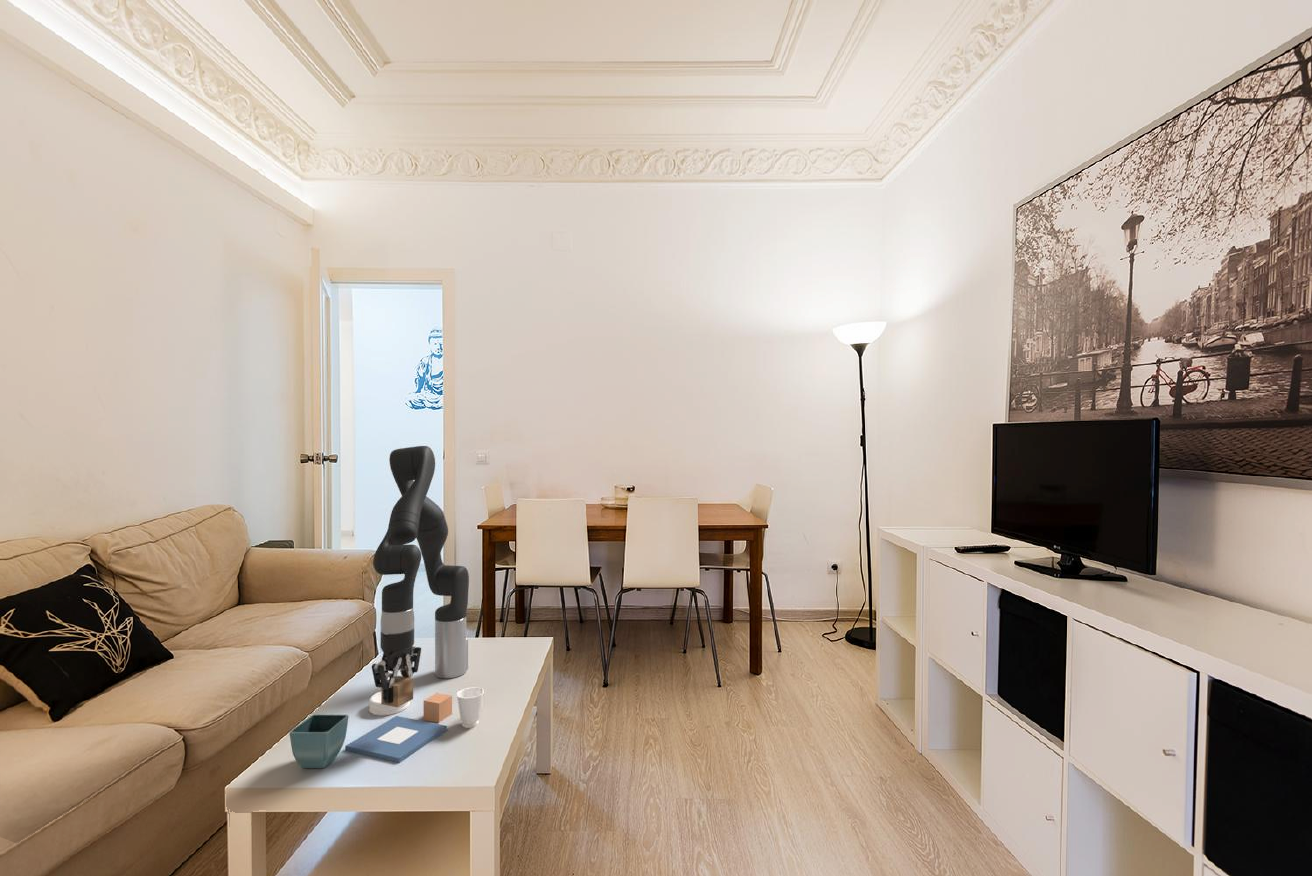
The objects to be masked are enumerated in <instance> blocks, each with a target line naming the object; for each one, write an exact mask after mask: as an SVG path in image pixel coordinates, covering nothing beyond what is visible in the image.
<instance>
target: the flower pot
mask: <svg viewBox="0 0 1312 876" xmlns="http://www.w3.org/2000/svg"><path fill="white" fill-rule="evenodd" d="M349 717H350V716H349V714H333V713H332V714H320V713H319V714H311V715H310V716H308V717H307V718H305V719H304V720H303V721H302V722H301V723H299V724H298V725H296V726H295V727H293V728H292V729H290V731H288V733H289V740H290V747H291V753H292V755H293V757H294V760H295V761H296V762H297V764H298V765H300V767H301V768H303V769H324V768H326V767H328V765H329V764H330V763H332V762H333V761H334V760H335V759H336V758H337V757H338V755H339V753H340V751H341V750H342V749H343V748H342V747H343V746H344V743H345V740H346V737H347V731H348V723H349Z"/></svg>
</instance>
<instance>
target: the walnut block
mask: <svg viewBox="0 0 1312 876" xmlns="http://www.w3.org/2000/svg"><path fill="white" fill-rule="evenodd" d="M387 682H389V679H388V680H387ZM380 689H381V704H383V705H388V706H393V707H400V706H401V705H403V704H405V703H407V702H408V701H413V700H414V678H413V677H411V678H408V677H402V675H397V677H396V678H395V679H394V683H393V702H392V703H385V702H384V700H383V688H380Z"/></svg>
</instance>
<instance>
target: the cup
mask: <svg viewBox="0 0 1312 876" xmlns="http://www.w3.org/2000/svg"><path fill="white" fill-rule="evenodd" d="M484 697H485V691H484V688H481V687H478V686H471V687H465V688H462V689H461V690H459V691H457V692H456V698H457V702H458V710H459V717H460V720H461V727H462V728H466V729H470V728H475V727H477V726H478V725H479V724H480V719H481V718H480V717H481V716H482V715H481V714H482V711H483V702H484Z"/></svg>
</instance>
